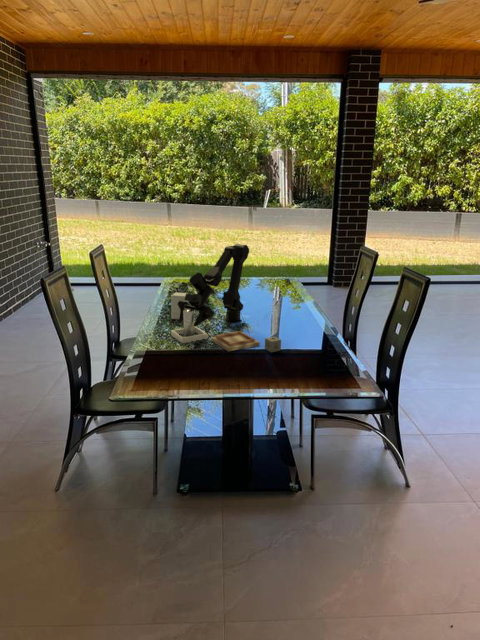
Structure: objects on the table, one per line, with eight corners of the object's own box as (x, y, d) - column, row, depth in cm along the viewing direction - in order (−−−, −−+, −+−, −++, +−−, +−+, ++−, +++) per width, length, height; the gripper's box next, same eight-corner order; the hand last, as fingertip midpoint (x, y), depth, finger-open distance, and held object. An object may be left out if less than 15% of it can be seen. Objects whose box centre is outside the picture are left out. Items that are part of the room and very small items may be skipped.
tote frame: (195, 331, 245) (195, 326, 244) (207, 339, 235) (207, 333, 234) (171, 335, 239) (171, 330, 238) (182, 343, 229) (182, 338, 228)
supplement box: (184, 320, 263) (184, 296, 259) (171, 318, 264) (170, 295, 260) (189, 315, 270) (188, 292, 266) (175, 315, 271) (175, 292, 267)
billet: (191, 334, 240) (191, 308, 236) (196, 337, 236) (196, 311, 232) (182, 336, 238) (181, 309, 234) (186, 339, 234) (185, 312, 230)
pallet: (241, 335, 240) (241, 329, 240) (259, 345, 227) (259, 339, 226) (211, 340, 233) (211, 334, 232) (228, 351, 220) (228, 345, 219)
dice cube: (280, 350, 222) (281, 339, 220) (271, 352, 219) (271, 341, 218) (273, 347, 226) (274, 336, 224) (264, 349, 223) (265, 338, 222)
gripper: (179, 283, 238) (163, 311, 233) (209, 289, 228) (193, 318, 222) (190, 296, 247) (175, 323, 241) (220, 303, 236) (205, 331, 231)
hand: (186, 324), depth 234 cm, fingers open, 9 cm apart
